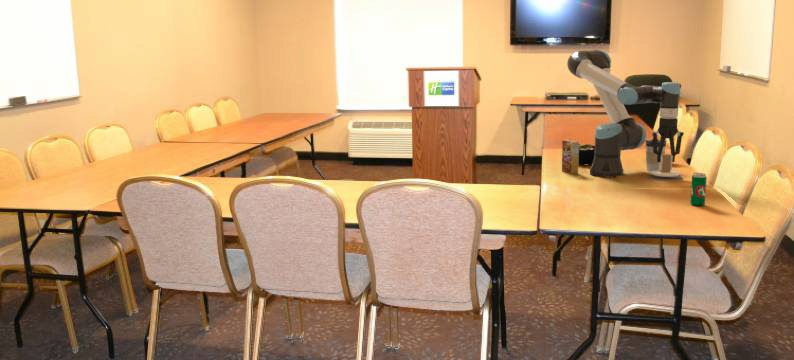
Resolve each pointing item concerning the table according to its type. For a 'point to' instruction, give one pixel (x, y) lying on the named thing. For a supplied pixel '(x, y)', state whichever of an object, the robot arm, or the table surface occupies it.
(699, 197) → the soda can
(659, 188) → the table surface
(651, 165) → the coffee cup
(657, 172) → the brown block on plate
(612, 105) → the robot arm
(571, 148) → the candy box
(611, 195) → the table surface
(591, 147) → the black container
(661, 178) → the mat
